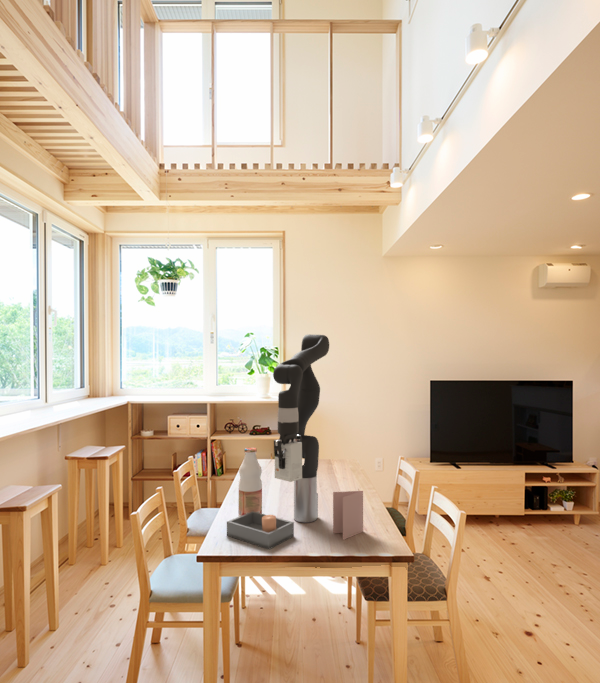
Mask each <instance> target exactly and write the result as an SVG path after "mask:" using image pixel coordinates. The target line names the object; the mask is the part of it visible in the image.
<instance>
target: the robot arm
mask: <svg viewBox="0 0 600 683" xmlns="http://www.w3.org/2000/svg"><path fill="white" fill-rule="evenodd" d="M329 350H330V341H329V338H328V336H326V335H324V334H304V335H303V337H302V340H301V350H300V351H298V352H296V353H295V354H294V355H293V356H292V357H291V358H290V359H287V360H285V361H282V362H280V363H279V364H277V365H276V367H275V368H274V370H273V372H272V376H273V379H274V381H275V383H277V384H279V385H290V386H289V388H288V389H286V390H281V391H280V392H279V393H278V396H277V397H278V400H277V402H278V403H277V404H278V409H277V433H278V435H279V439H274V440H273V456H274V458H275V457H278V458H279V468H280V469H285V452H286V448H285V449H282V448H281V445H282V443H283V445H285V444H290V443H291V442H302V459H304V461H303V462H304V463H303V464H302V479H299V480H296V481H293V519H294V520H295V521H296V522H299V523H312V522H313V523H314V522H315V521H317V520H318V517H319V510H318V509H319V495H318V481H317V480H318V479H317V478H318V468H319V455H320V454H319V452H320V444H319V440H318V438H317V437H316V436H314V435H306V434H305V433H306V432H305V431H306V428H307V424H308V422H309V420H310V418H311V417H312V416H313V414H314V413H315V411H316V410H317V408H318V406H319V403H320V395H321V394H320V392H321V387H320V384H319V381H318V379H317V377H316V375H315V373H314V372H313V369H312V364H314V363H315V362H316V361H318V360H320V359H321V358H323V357H326V355H327V354H328V352H329ZM277 451H279V453H277ZM282 451H283V454H282Z"/></svg>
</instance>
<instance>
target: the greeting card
mask: <svg viewBox="0 0 600 683" xmlns="http://www.w3.org/2000/svg"><path fill="white" fill-rule="evenodd" d="M332 513H333V514H332V519H333V520H332V524H333V525H332V527H333V528H332V533H333V534H342V540H343V541H344V540H346V539H348V538H351V537H354V536H356V535H358V534H361V533H363V532H364V490H352V491H351V490H350V491H333V493H332Z"/></svg>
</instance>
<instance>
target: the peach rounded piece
mask: <svg viewBox="0 0 600 683" xmlns="http://www.w3.org/2000/svg"><path fill="white" fill-rule="evenodd" d="M276 518H277V516H276V515H274V514H265V516H263V517H262V531H264V532H268V533H269V532H271V531H273V530H275V529H276Z"/></svg>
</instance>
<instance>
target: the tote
mask: <svg viewBox="0 0 600 683" xmlns="http://www.w3.org/2000/svg"><path fill="white" fill-rule="evenodd" d="M265 515H266V514H264V513H262V514H261V513H258V512H254V511H252V512H250V513H247V514H245V515H242V516H240V517H239V516H237V517H235V518H232V519H230V520H228V521H226V536H227V537H230V538H234V539H236V540H238V541H243V542H244V543H249V544H251V545H255V546H257V547H261V548H264V549H266V550H270V549H272V548H274V547H277V546H278V545H280V544H282V543H284V542H285V541H287V540H289V539H291V538H293V537H294V536H295V530H294V529H295V522H294V521H290V520H286V519H283V518H280V517H276V529H275V530H273V531H271V532H269V533H268V532H264V531H262V517H263V516H265Z"/></svg>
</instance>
